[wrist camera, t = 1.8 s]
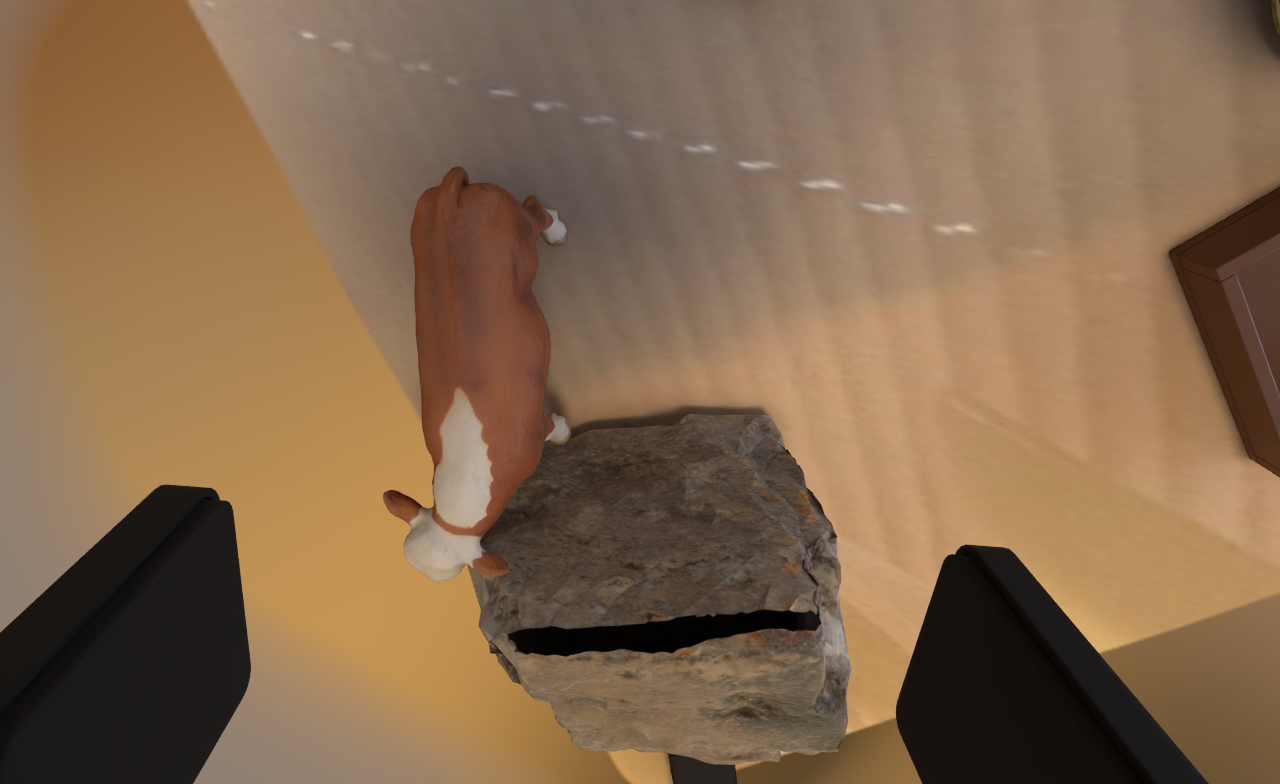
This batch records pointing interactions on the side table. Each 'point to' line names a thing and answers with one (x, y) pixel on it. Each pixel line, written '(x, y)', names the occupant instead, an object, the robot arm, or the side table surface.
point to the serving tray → (1241, 317)
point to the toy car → (700, 771)
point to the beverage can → (1276, 14)
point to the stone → (673, 593)
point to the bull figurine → (476, 367)
